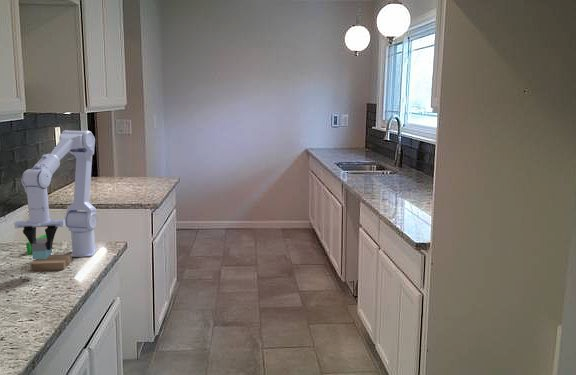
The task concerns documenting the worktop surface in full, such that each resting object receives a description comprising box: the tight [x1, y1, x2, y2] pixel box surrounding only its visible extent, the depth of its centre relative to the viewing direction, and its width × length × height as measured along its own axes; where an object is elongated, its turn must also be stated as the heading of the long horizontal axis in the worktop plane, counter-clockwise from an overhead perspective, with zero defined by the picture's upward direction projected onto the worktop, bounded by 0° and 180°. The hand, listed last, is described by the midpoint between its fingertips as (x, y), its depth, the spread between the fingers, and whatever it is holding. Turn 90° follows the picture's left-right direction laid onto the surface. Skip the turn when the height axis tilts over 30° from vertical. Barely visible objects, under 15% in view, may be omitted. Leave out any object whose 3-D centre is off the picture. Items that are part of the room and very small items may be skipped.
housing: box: [31, 237, 53, 260], centre depth 167 cm, size 6×4×5 cm, turn 7°
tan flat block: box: [30, 253, 72, 272], centre depth 176 cm, size 9×10×2 cm
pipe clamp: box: [25, 234, 47, 256], centre depth 193 cm, size 11×4×5 cm, turn 173°
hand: (42, 249), depth 167 cm, fingers closed on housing, 4 cm apart
